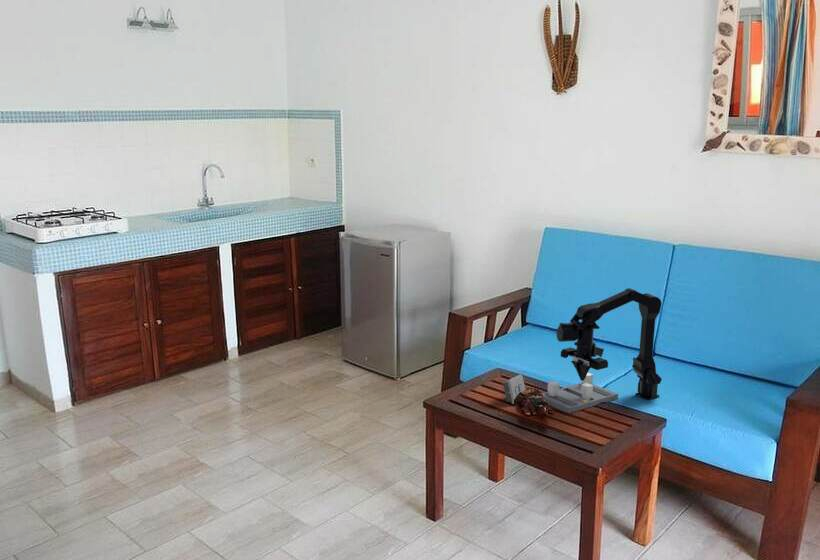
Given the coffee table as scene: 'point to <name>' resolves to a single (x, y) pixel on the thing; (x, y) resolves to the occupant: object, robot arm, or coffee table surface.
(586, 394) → the breaker handle
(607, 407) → the coffee table surface
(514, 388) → the electrical switch
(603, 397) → the breaker panel
